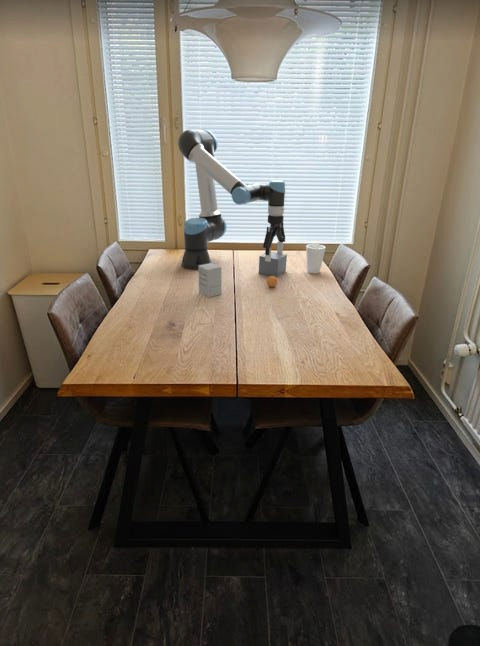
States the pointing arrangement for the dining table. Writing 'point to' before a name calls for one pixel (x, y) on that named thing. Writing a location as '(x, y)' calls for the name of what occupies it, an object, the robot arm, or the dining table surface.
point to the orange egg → (272, 281)
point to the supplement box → (209, 279)
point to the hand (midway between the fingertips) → (273, 257)
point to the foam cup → (314, 257)
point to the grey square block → (273, 264)
